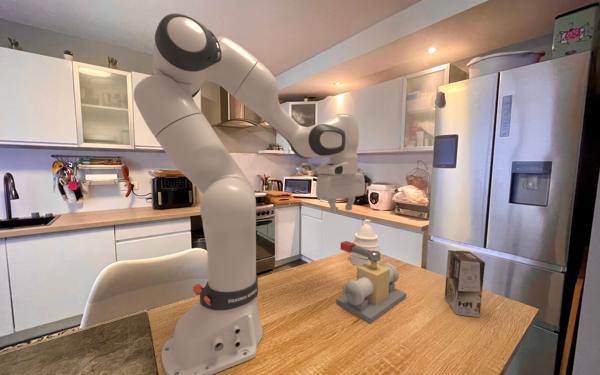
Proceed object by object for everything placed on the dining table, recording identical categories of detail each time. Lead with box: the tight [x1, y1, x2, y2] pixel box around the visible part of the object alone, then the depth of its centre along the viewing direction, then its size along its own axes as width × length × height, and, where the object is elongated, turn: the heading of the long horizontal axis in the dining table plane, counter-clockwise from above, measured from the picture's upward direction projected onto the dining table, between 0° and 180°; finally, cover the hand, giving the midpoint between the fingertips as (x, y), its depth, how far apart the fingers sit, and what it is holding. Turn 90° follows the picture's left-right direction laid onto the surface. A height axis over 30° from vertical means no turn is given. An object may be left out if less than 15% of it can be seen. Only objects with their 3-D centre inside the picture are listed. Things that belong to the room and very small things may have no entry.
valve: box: [335, 261, 407, 325], centre depth 75 cm, size 20×12×13 cm, turn 130°
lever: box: [339, 240, 380, 261], centre depth 78 cm, size 14×4×2 cm, turn 41°
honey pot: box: [349, 219, 382, 267], centre depth 105 cm, size 13×13×18 cm
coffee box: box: [444, 249, 486, 318], centre depth 72 cm, size 9×6×16 cm
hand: (341, 211), depth 78 cm, fingers open, 6 cm apart
